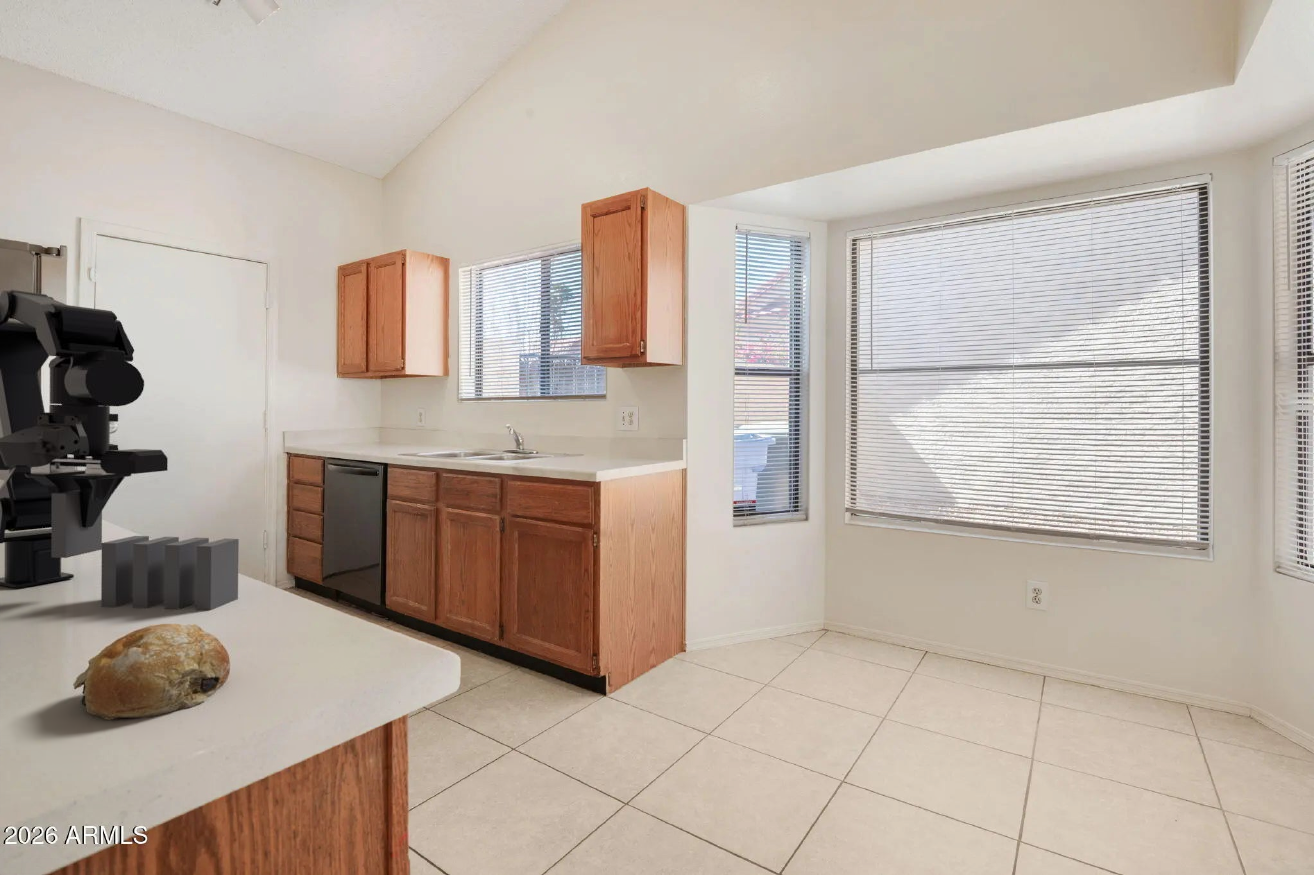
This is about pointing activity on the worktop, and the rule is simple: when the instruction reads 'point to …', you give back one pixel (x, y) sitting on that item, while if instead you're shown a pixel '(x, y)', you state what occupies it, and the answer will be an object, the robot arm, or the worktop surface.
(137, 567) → the tile
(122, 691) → the bread roll
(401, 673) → the worktop surface
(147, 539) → the tile
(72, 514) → the tile
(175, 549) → the tile
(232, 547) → the tile
